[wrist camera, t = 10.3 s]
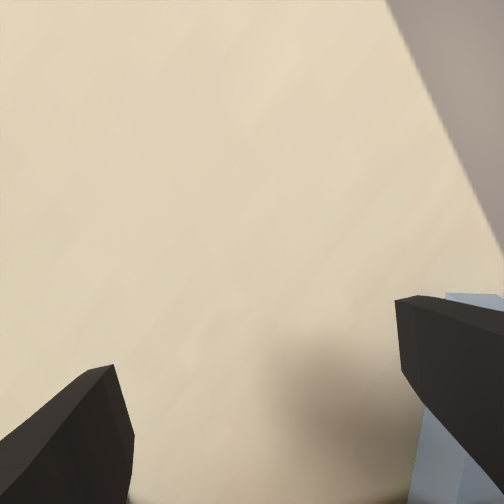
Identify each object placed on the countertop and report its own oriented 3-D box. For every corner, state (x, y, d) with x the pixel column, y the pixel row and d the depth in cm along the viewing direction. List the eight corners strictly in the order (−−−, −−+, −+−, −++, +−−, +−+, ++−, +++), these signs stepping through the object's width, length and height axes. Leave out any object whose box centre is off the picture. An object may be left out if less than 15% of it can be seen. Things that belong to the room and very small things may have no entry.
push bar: (403, 505, 25) (441, 569, 22) (443, 291, 22) (495, 322, 18) (446, 503, 26) (491, 565, 22) (491, 292, 23) (552, 323, 19)
